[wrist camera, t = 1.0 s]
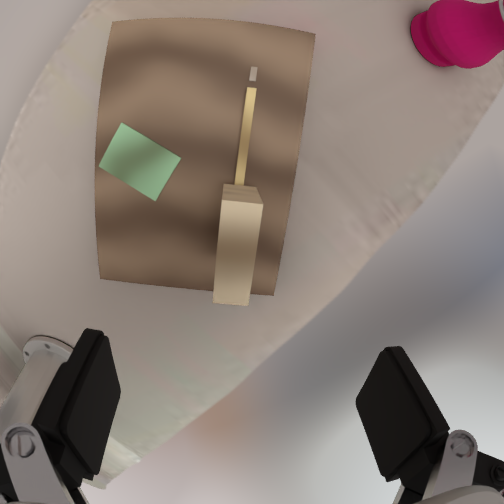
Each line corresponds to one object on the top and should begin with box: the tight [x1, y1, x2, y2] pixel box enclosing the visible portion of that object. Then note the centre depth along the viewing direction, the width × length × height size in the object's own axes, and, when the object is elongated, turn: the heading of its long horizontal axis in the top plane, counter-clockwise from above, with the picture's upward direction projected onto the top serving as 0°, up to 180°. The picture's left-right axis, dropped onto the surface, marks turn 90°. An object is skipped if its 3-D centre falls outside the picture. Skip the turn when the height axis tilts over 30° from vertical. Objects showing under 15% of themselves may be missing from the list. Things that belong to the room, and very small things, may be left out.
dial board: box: [95, 18, 315, 296], centre depth 23 cm, size 24×17×2 cm
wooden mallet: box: [213, 87, 263, 306], centre depth 20 cm, size 14×2×7 cm, turn 172°
